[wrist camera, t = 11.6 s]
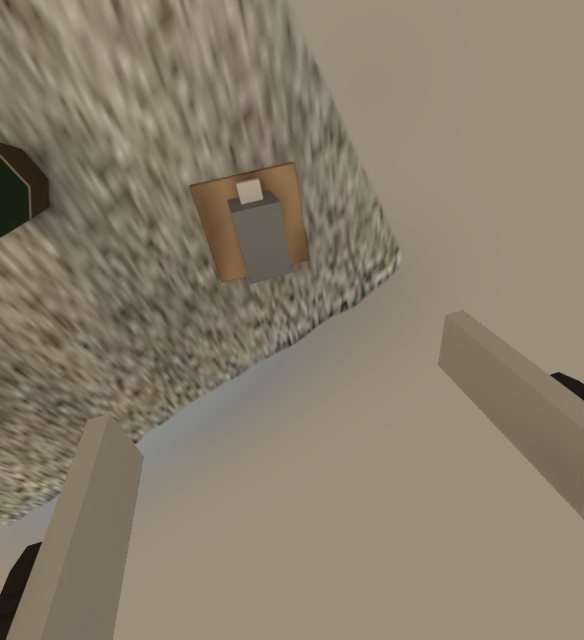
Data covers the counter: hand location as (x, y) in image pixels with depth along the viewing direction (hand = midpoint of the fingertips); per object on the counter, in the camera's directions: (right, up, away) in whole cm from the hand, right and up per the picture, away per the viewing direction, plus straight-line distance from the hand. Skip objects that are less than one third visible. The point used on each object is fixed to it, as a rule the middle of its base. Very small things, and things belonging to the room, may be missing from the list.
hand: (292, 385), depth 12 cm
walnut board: (-5, +15, +27) cm, 31 cm away
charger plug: (-4, +14, +26) cm, 30 cm away
